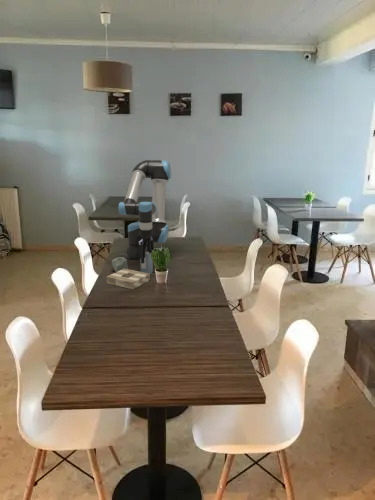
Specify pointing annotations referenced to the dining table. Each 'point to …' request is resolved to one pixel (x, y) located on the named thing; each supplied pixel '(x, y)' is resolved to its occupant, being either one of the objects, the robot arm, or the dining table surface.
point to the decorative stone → (119, 264)
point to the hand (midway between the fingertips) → (146, 266)
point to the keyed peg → (147, 264)
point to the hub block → (128, 278)
